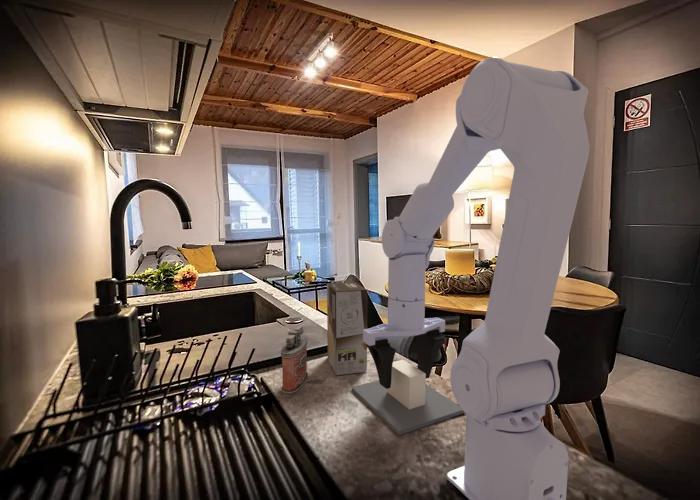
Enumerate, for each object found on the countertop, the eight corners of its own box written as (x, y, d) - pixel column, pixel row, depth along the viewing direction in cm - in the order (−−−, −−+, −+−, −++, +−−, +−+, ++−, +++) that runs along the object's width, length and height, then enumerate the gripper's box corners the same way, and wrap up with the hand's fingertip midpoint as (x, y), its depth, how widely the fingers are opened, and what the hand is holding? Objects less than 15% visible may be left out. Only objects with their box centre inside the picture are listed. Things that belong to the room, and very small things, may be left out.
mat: (464, 413, 54) (464, 409, 54) (398, 435, 48) (399, 431, 48) (408, 376, 66) (408, 373, 66) (351, 390, 61) (351, 387, 61)
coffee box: (368, 372, 68) (369, 289, 66) (335, 376, 66) (335, 291, 65) (355, 354, 77) (355, 280, 75) (326, 357, 75) (325, 282, 73)
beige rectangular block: (402, 388, 60) (402, 359, 60) (425, 404, 55) (425, 373, 55) (387, 392, 59) (387, 363, 59) (409, 409, 54) (409, 377, 53)
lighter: (296, 398, 58) (295, 338, 57) (277, 396, 59) (276, 337, 58) (311, 376, 66) (311, 324, 65) (294, 374, 67) (293, 322, 66)
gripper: (426, 288, 63) (424, 363, 64) (353, 296, 56) (353, 379, 57) (455, 296, 56) (452, 378, 58) (377, 307, 50) (376, 399, 51)
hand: (405, 380), depth 57 cm, fingers open, 7 cm apart
